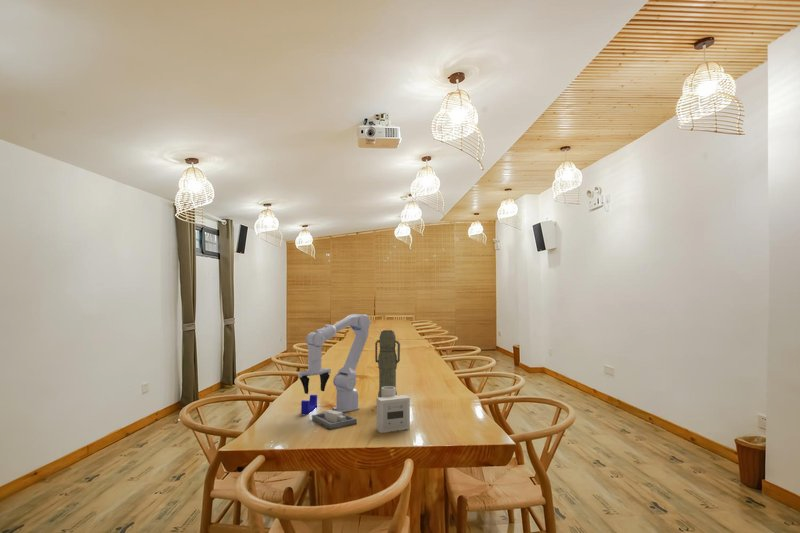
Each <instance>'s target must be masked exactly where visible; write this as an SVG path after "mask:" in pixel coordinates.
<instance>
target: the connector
mask: <svg viewBox="0 0 800 533" xmlns="http://www.w3.org/2000/svg"><path fill="white" fill-rule="evenodd" d="M324 413H325V420H326V421H330V422H334V423H336V422H340V421H344V420H346V416H343V415H342V413H343V412H339V411H337V410H335V409H333V410H332V409H327V410H324Z"/></svg>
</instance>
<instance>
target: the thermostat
mask: <svg viewBox="0 0 800 533" xmlns="http://www.w3.org/2000/svg"><path fill="white" fill-rule="evenodd" d="M396 391H397V387H396V388H395V387H392V386H385V387H382V397H380V398H378V397H376V430H377V431H378V432H379V433H381V434H382V433H383V434H384V433H389V432H391V431H392V432H397V430H399V431H406V430H405V429H407V430H410V429H411V425H410V424H411V420H410V418H411V412H410V411H411V410H410V408H411V404H410V403H411V402H410V401H411V398H410V396H408V395H406V394H401V395H398V394H397V395H396Z"/></svg>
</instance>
